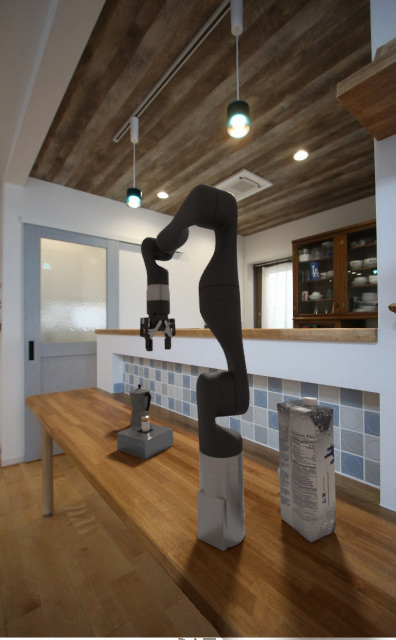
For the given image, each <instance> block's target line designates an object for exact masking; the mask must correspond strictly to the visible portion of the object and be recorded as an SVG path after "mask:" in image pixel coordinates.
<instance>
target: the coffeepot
mask: <svg viewBox="0 0 396 640" xmlns="http://www.w3.org/2000/svg"><path fill="white" fill-rule="evenodd" d="M128 392H129V393H128V394H129V399H130V406H131V412H130V413H131V415H130V420H129V428H131V427H134V426H137V425H139V424H142V416H146V415H147V416H150V415H149V411H150V407H151V401H152V394H151V390H150V389H148V388H143V387H142V384H141V383H140V384H139V383H138V384H137V388H135V389H130V390H129V391H128Z"/></svg>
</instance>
